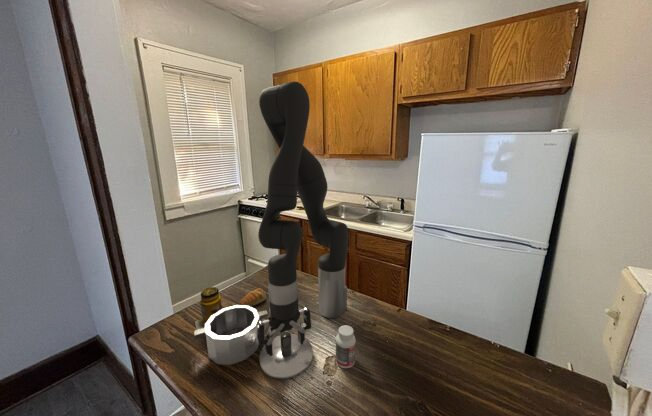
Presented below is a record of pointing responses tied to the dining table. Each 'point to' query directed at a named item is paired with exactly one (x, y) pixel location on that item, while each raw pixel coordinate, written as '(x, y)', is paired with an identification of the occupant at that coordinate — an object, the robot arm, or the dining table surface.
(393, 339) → the dining table surface
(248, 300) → the pastry
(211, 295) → the condiment
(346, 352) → the pill bottle
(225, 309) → the pot
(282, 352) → the lid
